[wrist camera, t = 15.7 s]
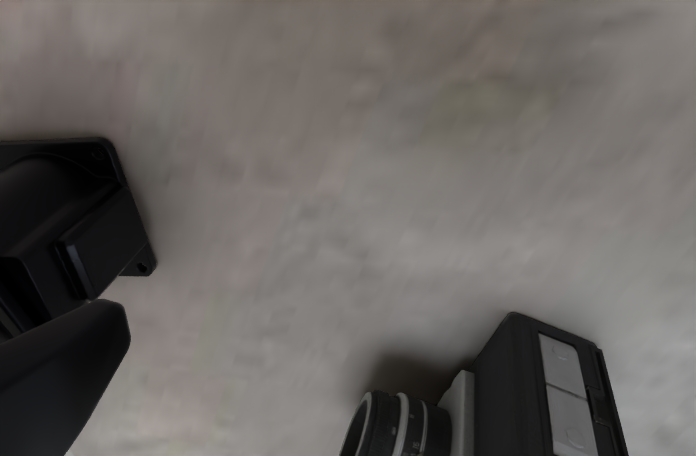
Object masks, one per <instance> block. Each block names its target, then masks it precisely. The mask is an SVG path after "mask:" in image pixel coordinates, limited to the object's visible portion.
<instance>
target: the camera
mask: <svg viewBox="0 0 696 456" xmlns="http://www.w3.org/2000/svg"><path fill="white" fill-rule="evenodd" d="M339 456H629V455H628V451H627V447H626V443H625V439H624V435H623V431H622V427H621V423H620V419H619V415H618V411H617V407H616V404H615V400H614V396H613V392H612V388H611V384H610V380H609V376H608V372H607V368H606V364H605V360H604V356H603V352H602V350H601V349H599V348H597V347H596V346H595V345H594V343H591V342H589V341H586V340H584V339H581V338H579V337H576V336H573V335H571V334H568V333H566V332H563V331H561V330H558V329H556V328H553V327H550V326H548V325H545V324H543V323H540V322H538V321H535V320H532V319H530V318H527V317H525V316H522V315H520V314H517V313H510V314H509V315H507V317H506V318H505V319H504V321H503V322H502V324H501V325H500V327H499V328H498V329H497V331H496V332H495V334H494V335H493V336H492V338H491V339H490V341H489V342H488V344H487V345H486V346H485V348H484V349H483V351H482V352H481V353H480V355H479V356H478V358H477V359H476V360H475V362H474V363H473V365H472V366H471V368H470V369H469V370H468V371H464V370H461V371H460V372H459V374H458V375H457V376H456V377H455V378H454V381H453V382H452V385H451V387H450V388H449V389H448V390H447V391H446V392H445V393H444V395H443V396H442V398H441V400H440V401H439V403H438V404H437V406H435V405H432V404H430V403H427V402H425V401H422V400H419V399H417V398H414V397H412V396H409V395H406V394H404V393H398V394H397V395H395V396H394V397H391V396H389V394H388V393H385V392H383V391H381V390H375V391H374V392H367V393H366V394H365V395H364V397H363V398H362V399H361V401H360V403H359V405H358V407H357V409H356V411H355V413H354V416H353V418H352V420H351V423H350V425H349V428H348V430H347V433H346V436H345V439H344V441H343V444H342V447H341V450H340V454H339Z"/></svg>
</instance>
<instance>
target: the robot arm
mask: <svg viewBox="0 0 696 456" xmlns="http://www.w3.org/2000/svg"><path fill="white" fill-rule="evenodd" d="M98 148H100V149H101V150H102V151H103V152H104V154H102V153H100V151H99V150H98ZM142 263H143V264H145V265H146V266H144V265H143V264H142ZM156 266H157V264H156V260H155V258H154V255H153V252H152V249H151V247H150V244H149V241H148V238H147V235H146V232H145V230H144V227H143V224H142V221H141V219H140V216H139V213H138V210H137V208H136V205H135V202H134V199H133V197H132V194H131V192H130V189H129V186H128V183H127V181H126V178H125V175H124V172H123V170H122V167H121V164H120V161H119V159H118V156H117V153H116V150H115V148H114V146H113V144H112V143H111V142H110V141H109V140H107V139H105V138H100V137H97V138H74V139H52V140H29V141H7V142H0V456H64V455H65V454H66V452H67V451H68V450H69V448H70V447H71V445H72V444H73V442H74V441H75V440H76V438H77V437H78V435H79V434H80V432H81V431H82V429H83V428H84V426H85V425H86V423H87V421H88V420H89V418H90V416H91V415H92V413H93V411H94V409H95V408H96V406H97V404H98V402H99V400H100V399H101V397H102V395H103V393H104V392H105V390H106V388H107V386H108V385H109V383H110V381H111V379H112V377H113V376H114V374H115V372H116V370H117V369H118V367H119V365H120V363H121V362H122V360H123V358H124V356H125V354H126V353H127V351H128V349H129V346H130V342H131V334H130V330H129V326H128V321H127V317H126V312H125V309H124V307H123V306H122V305H121V304H119V303H116V302H113V301H110V300H106V299H98V298H99V297H100V296H101V294H102V293H103V292H104V291H105V290H106V289H107V288H108V287H109V285H110V284H111V283H112V282H113V281H114V280H115V279H116V277H117V276H149V275H151V274H152V273H153V271H154V270H155V269H156ZM88 302H90V303H88Z"/></svg>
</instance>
